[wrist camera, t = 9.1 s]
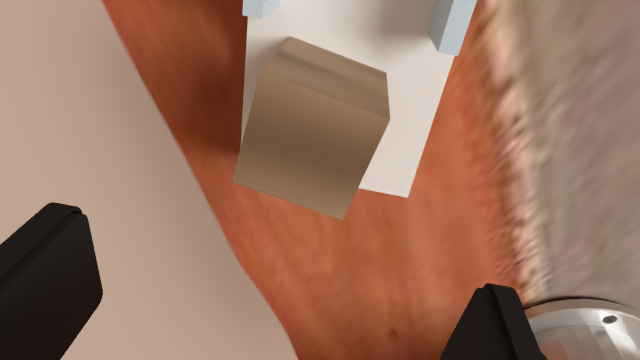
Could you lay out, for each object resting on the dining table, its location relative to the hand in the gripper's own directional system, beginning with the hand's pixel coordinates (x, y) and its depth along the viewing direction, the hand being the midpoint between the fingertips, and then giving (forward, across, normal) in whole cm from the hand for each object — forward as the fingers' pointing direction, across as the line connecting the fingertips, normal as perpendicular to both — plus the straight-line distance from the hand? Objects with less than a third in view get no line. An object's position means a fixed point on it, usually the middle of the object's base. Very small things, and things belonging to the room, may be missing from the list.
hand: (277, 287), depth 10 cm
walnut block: (+13, 0, 0) cm, 13 cm away
